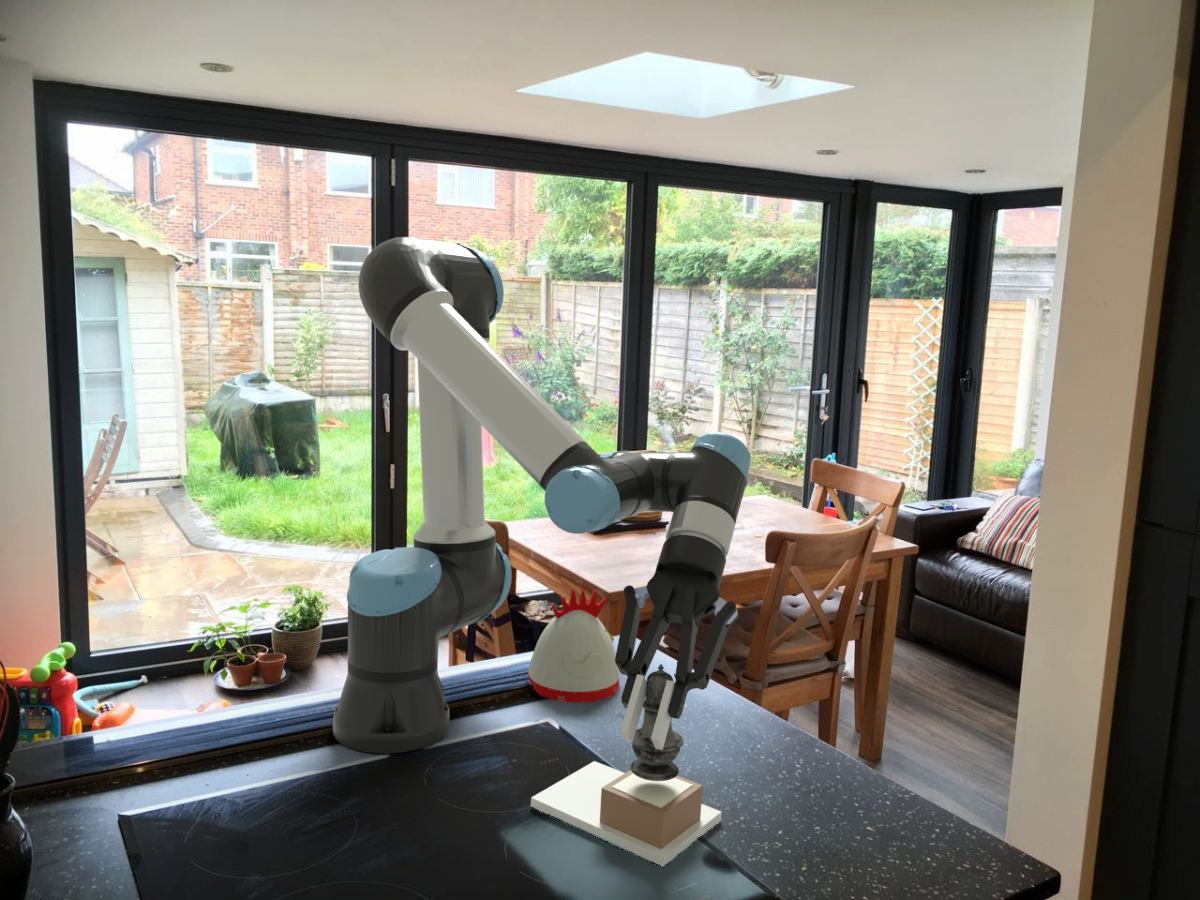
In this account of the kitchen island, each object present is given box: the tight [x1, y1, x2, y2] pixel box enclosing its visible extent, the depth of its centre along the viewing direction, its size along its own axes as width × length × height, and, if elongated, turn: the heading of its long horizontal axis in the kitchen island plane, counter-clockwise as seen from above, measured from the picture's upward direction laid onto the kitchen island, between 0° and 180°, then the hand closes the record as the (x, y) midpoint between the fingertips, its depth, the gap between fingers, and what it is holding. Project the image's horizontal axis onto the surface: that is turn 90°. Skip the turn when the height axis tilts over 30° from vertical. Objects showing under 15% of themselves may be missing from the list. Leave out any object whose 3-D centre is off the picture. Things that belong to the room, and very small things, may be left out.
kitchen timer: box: [527, 587, 620, 703], centre depth 144 cm, size 14×14×15 cm
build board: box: [530, 760, 722, 866], centre depth 108 cm, size 18×12×5 cm, turn 53°
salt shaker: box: [630, 663, 684, 781], centre depth 103 cm, size 6×6×12 cm
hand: (641, 740), depth 98 cm, fingers closed on salt shaker, 3 cm apart
